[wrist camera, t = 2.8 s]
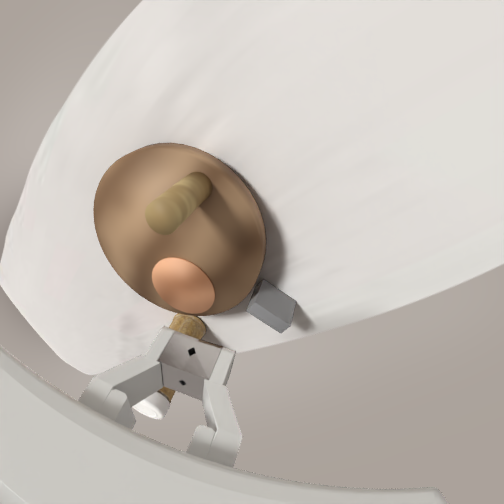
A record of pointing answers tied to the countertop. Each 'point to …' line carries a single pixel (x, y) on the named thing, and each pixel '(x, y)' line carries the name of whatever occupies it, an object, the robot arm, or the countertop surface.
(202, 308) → the wooden peg stand
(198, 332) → the sprinkles bottle
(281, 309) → the grey polygonal block
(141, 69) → the countertop surface
